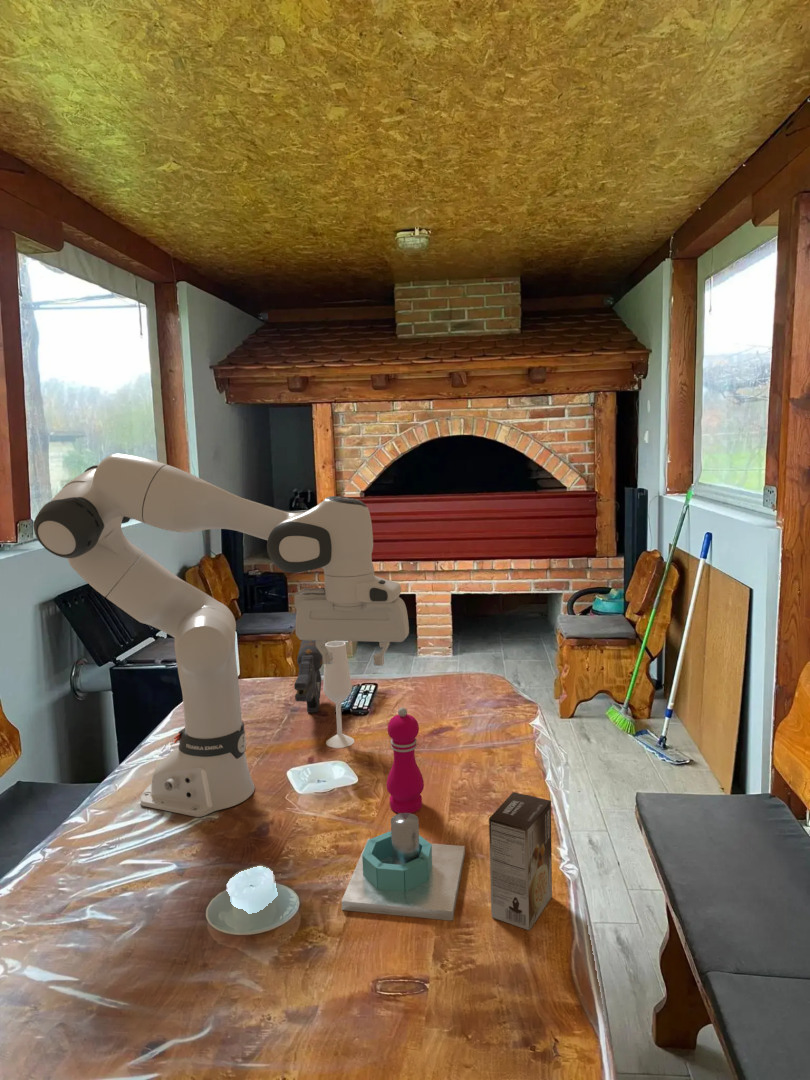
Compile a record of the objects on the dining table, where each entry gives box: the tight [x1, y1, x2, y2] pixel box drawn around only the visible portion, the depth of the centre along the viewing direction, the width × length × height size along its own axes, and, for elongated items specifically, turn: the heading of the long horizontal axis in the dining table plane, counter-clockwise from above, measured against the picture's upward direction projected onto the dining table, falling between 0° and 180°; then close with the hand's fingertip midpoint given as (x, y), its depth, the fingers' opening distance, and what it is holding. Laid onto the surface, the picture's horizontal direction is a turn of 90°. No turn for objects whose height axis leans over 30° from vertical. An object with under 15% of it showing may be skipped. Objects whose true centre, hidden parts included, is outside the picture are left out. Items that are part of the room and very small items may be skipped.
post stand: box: [340, 813, 466, 921], centre depth 114 cm, size 17×17×10 cm
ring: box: [361, 830, 432, 891], centre depth 115 cm, size 11×11×4 cm
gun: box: [294, 640, 327, 714], centre depth 184 cm, size 7×28×20 cm, turn 179°
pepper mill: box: [386, 707, 425, 814], centre depth 136 cm, size 7×7×20 cm
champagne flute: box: [322, 641, 355, 749], centre depth 166 cm, size 7×7×24 cm
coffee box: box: [488, 791, 553, 931], centre depth 106 cm, size 9×6×16 cm
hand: (353, 664), depth 127 cm, fingers open, 8 cm apart
